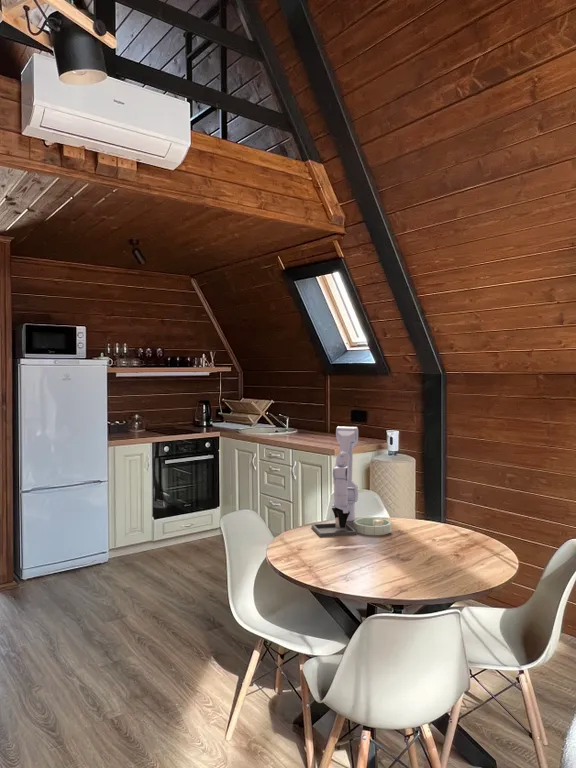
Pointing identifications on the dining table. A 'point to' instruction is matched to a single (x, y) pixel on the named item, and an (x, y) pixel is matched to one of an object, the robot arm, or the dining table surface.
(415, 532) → the dining table surface
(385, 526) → the bowl
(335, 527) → the pebble
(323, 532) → the tray
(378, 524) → the pebble
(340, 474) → the robot arm
